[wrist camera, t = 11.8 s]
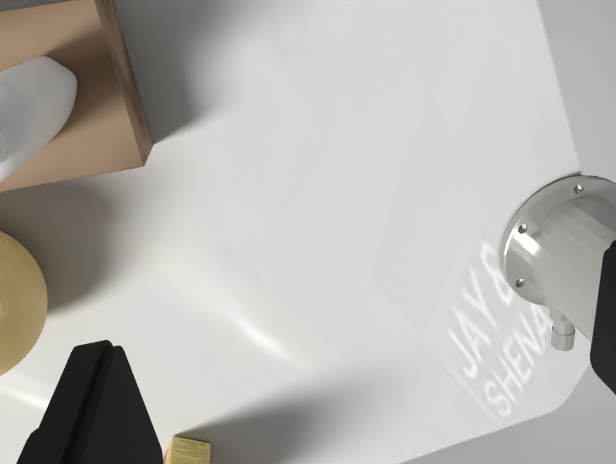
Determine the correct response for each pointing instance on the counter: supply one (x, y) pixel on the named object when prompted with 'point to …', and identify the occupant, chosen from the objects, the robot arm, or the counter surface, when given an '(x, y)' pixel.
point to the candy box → (187, 452)
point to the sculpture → (19, 302)
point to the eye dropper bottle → (32, 109)
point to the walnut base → (80, 90)
